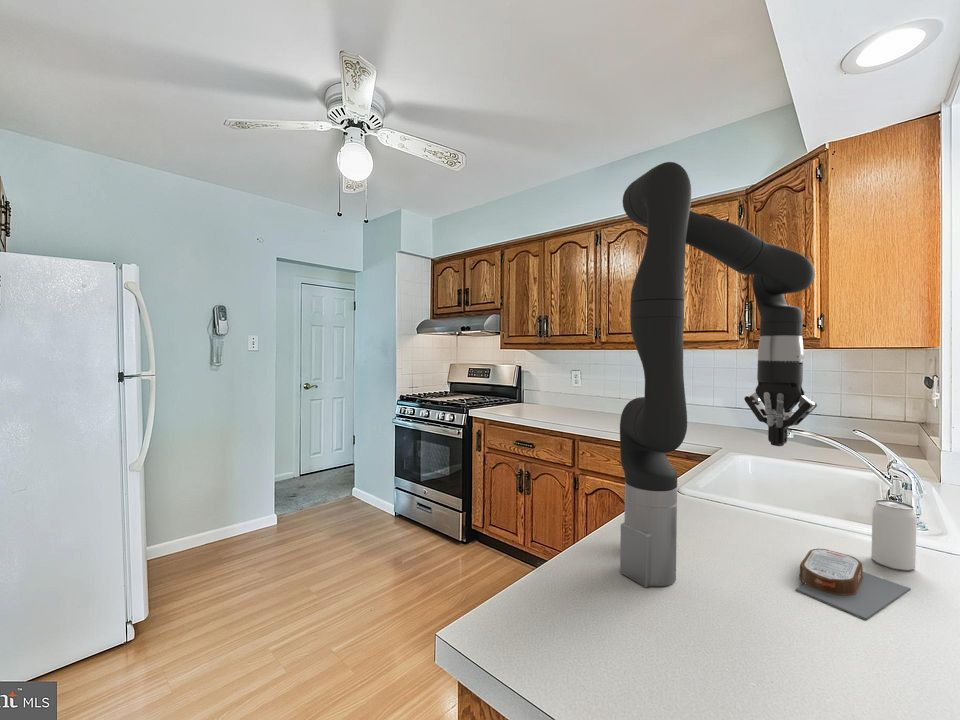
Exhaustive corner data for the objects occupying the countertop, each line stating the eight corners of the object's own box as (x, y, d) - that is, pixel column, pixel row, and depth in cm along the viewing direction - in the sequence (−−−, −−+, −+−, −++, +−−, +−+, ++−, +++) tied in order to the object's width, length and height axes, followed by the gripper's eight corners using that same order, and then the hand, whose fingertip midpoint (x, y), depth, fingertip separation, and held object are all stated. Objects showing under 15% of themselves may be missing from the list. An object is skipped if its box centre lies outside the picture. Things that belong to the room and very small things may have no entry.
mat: (866, 620, 70) (866, 618, 70) (795, 590, 79) (795, 588, 79) (910, 589, 79) (910, 588, 79) (842, 565, 88) (842, 564, 88)
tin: (794, 582, 81) (854, 604, 75) (796, 565, 80) (856, 586, 74) (811, 556, 91) (865, 574, 85) (812, 541, 91) (867, 558, 85)
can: (906, 560, 90) (908, 501, 90) (922, 574, 84) (923, 511, 84) (866, 553, 93) (867, 496, 93) (878, 567, 87) (879, 506, 87)
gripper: (735, 358, 93) (733, 441, 93) (807, 359, 81) (804, 454, 82) (756, 358, 96) (754, 438, 97) (827, 359, 85) (825, 450, 85)
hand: (777, 445), depth 89 cm, fingers closed
